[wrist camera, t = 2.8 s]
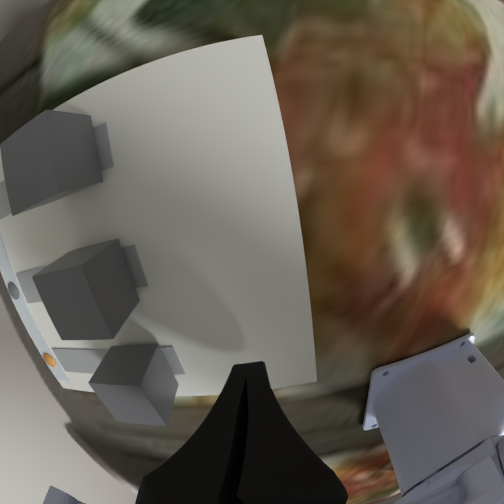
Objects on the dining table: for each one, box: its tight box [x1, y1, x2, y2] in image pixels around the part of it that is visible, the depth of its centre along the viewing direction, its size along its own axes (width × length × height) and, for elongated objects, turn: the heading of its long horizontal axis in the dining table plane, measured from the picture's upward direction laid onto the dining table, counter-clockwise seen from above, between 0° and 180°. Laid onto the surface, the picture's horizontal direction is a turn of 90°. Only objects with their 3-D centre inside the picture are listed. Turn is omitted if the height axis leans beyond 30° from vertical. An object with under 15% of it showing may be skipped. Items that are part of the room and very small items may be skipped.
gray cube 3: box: [0, 110, 103, 216], centre depth 8 cm, size 3×3×3 cm
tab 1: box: [88, 344, 179, 426], centre depth 12 cm, size 3×3×3 cm
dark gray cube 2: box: [32, 239, 140, 340], centre depth 10 cm, size 3×3×3 cm
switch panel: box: [0, 35, 317, 396], centre depth 12 cm, size 18×17×2 cm
